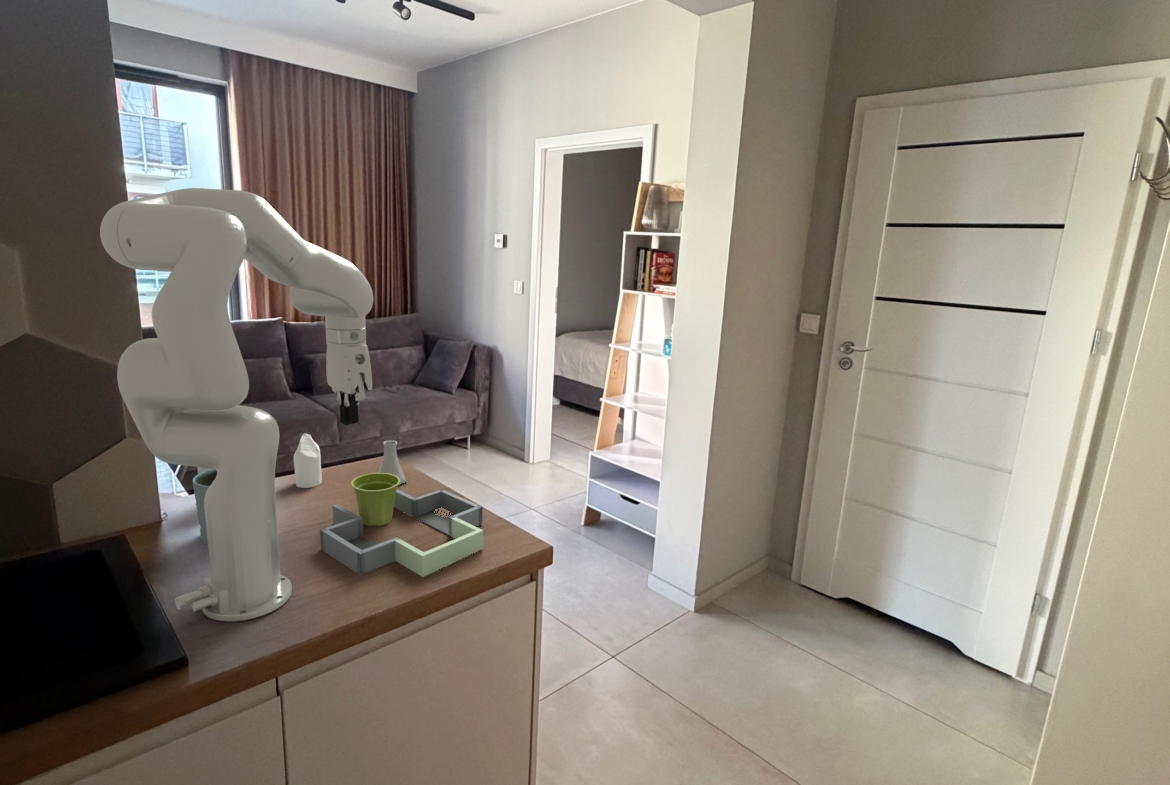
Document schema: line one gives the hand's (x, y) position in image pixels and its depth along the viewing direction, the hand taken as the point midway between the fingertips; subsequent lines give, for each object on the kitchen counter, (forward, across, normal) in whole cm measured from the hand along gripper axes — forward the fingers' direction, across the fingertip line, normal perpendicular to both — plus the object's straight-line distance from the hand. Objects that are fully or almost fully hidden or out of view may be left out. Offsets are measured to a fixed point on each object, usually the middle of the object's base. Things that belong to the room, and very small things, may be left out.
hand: (349, 422), depth 129 cm
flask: (+19, +6, -14) cm, 24 cm away
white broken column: (+19, +18, 0) cm, 26 cm away
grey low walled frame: (+18, -20, 0) cm, 27 cm away
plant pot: (+19, -10, 0) cm, 21 cm away
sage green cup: (+19, +4, +24) cm, 30 cm away
